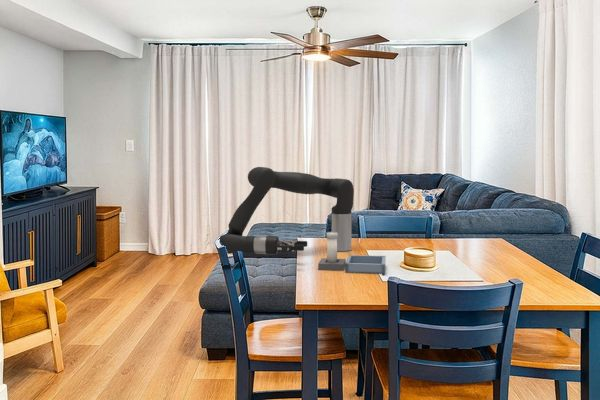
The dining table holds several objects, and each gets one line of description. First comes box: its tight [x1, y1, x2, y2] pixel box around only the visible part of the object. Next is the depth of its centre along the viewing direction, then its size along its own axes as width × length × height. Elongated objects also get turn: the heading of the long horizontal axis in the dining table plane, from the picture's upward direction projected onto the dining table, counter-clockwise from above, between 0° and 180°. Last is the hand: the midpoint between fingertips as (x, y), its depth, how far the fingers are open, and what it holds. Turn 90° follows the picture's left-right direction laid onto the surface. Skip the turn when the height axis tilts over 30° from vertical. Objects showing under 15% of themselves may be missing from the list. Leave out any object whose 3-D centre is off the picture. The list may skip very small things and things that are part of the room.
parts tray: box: [344, 254, 386, 276], centre depth 228 cm, size 16×15×4 cm
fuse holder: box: [317, 257, 347, 272], centre depth 230 cm, size 10×10×3 cm
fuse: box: [326, 231, 338, 263], centre depth 230 cm, size 4×4×14 cm
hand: (305, 245), depth 231 cm, fingers open, 8 cm apart
